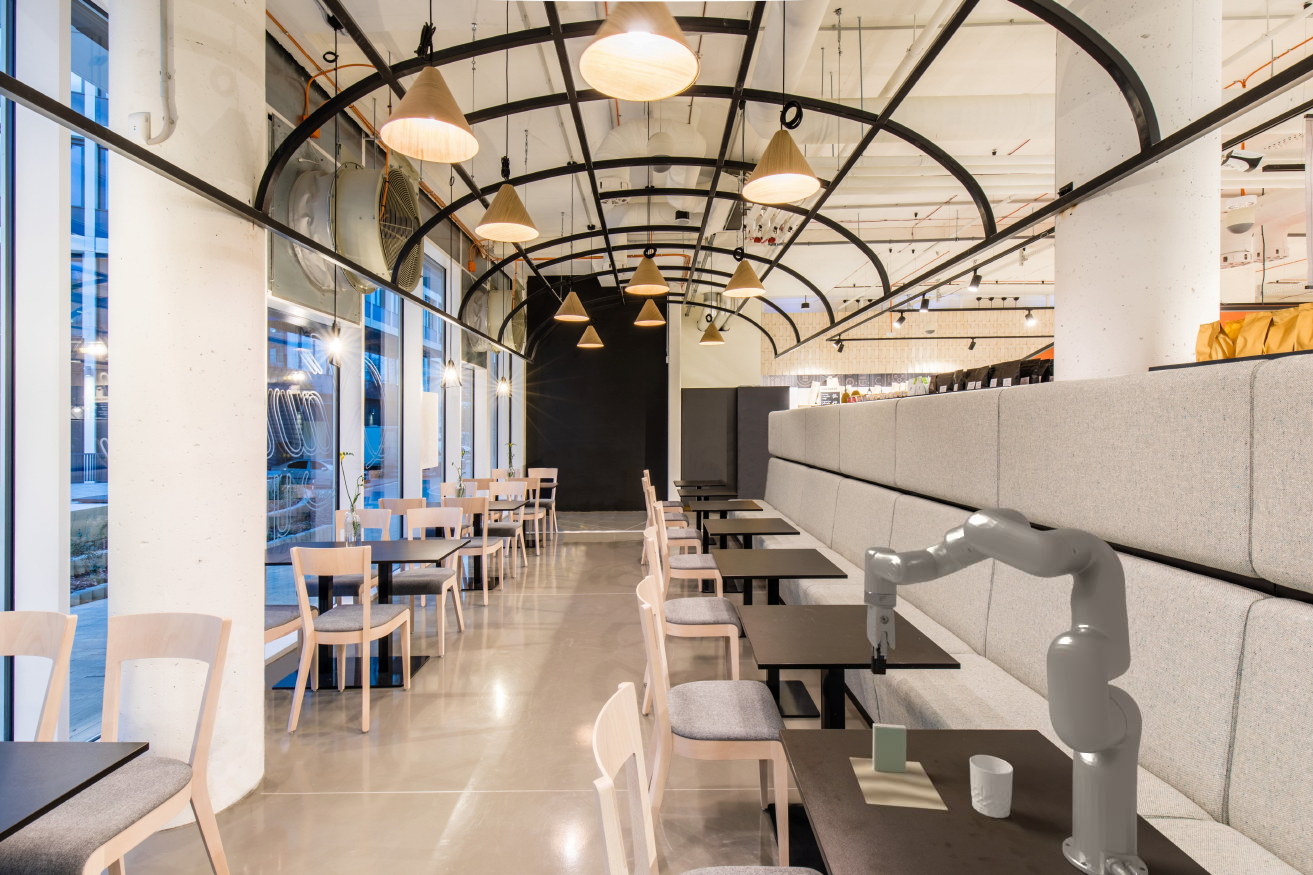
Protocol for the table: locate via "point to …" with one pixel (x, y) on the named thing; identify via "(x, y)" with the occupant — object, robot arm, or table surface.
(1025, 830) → the table surface
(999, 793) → the white cup
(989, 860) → the table surface
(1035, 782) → the table surface
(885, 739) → the tile
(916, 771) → the board
